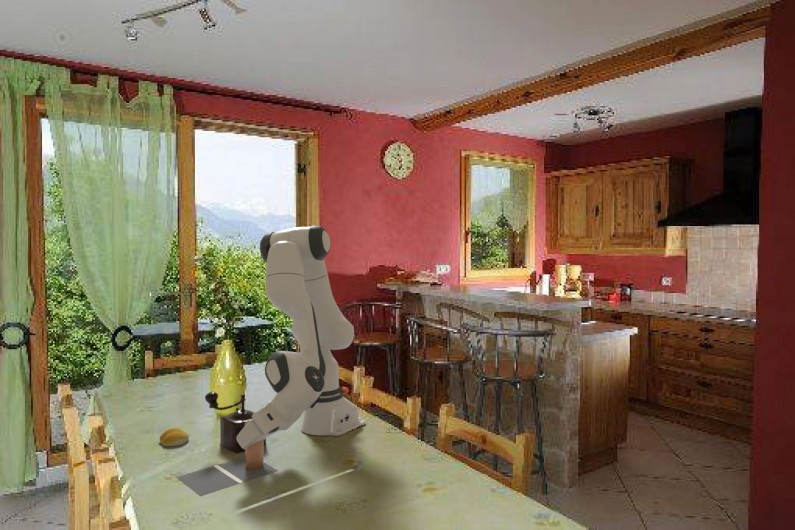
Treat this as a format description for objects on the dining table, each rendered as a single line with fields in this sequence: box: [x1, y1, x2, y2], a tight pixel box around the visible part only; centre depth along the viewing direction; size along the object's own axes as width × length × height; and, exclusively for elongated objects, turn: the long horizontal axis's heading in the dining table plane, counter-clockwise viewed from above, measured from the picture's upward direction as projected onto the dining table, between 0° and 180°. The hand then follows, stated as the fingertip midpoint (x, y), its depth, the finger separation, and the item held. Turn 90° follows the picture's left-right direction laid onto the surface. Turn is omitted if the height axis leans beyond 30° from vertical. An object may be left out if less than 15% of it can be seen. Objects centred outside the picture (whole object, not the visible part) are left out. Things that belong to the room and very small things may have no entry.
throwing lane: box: [175, 456, 279, 497], centre depth 147 cm, size 22×15×1 cm
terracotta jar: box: [244, 422, 265, 469], centre depth 153 cm, size 5×5×12 cm
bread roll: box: [159, 427, 190, 447], centre depth 172 cm, size 8×9×4 cm
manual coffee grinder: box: [204, 391, 267, 454], centre depth 167 cm, size 16×11×18 cm
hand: (252, 442), depth 153 cm, fingers open, 5 cm apart
